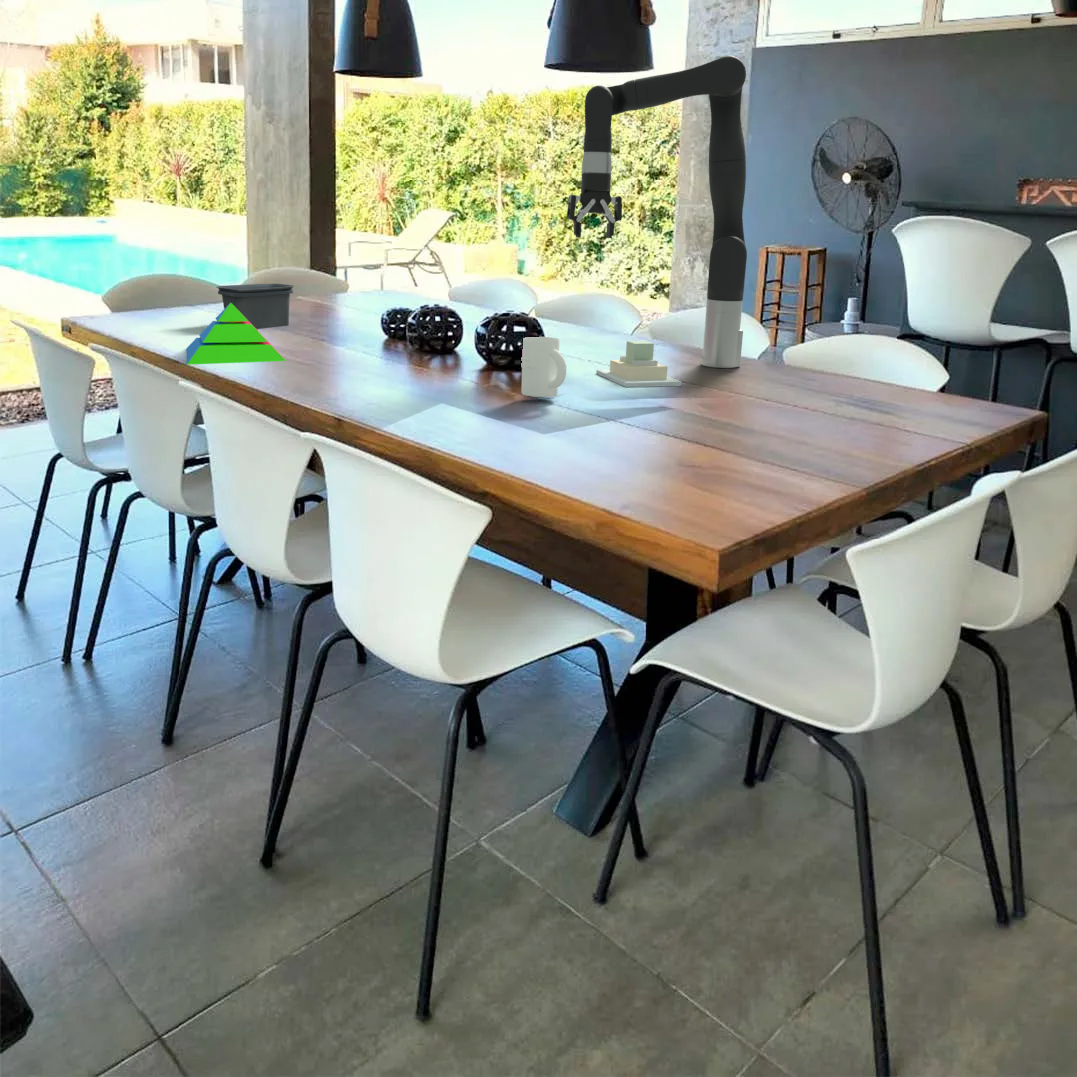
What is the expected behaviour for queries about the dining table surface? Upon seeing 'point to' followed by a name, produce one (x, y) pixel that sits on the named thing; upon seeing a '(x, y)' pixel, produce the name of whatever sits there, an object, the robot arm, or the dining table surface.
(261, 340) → the pyramid toy
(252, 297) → the storage bin
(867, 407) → the dining table surface
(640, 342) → the sage cube
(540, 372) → the mug
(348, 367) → the dining table surface
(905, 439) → the dining table surface
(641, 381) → the base
